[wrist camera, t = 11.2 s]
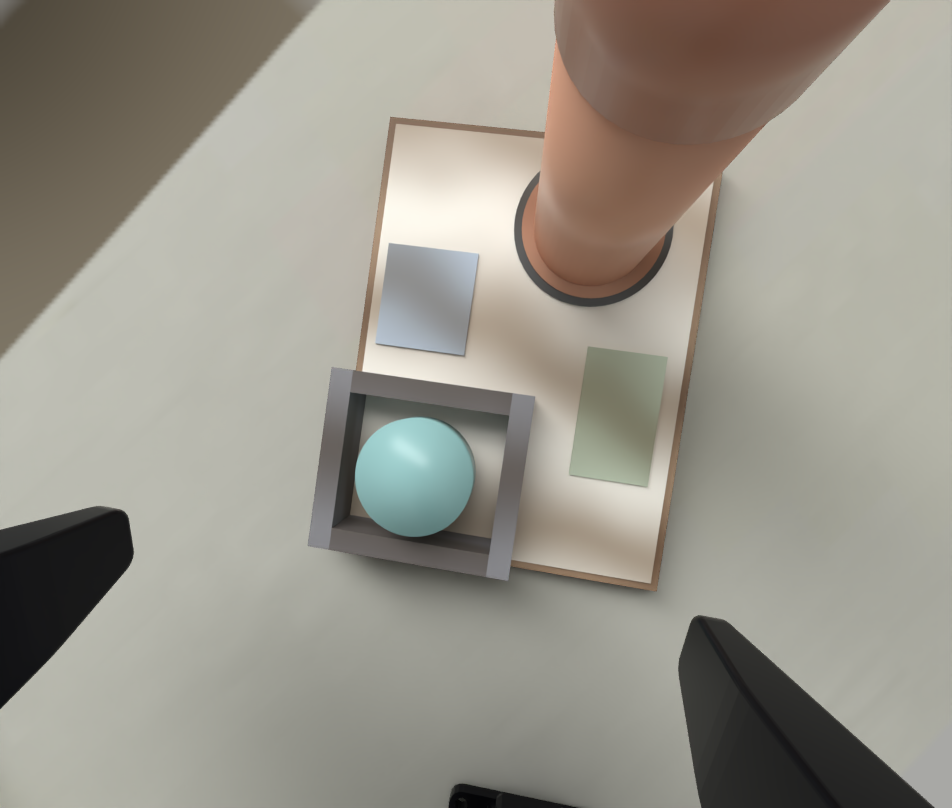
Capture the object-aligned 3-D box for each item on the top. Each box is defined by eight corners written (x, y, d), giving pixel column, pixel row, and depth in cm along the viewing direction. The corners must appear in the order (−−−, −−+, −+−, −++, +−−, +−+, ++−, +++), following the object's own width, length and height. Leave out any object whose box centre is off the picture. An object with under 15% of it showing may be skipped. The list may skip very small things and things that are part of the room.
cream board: (648, 581, 19) (674, 615, 16) (337, 528, 20) (307, 551, 17) (714, 163, 18) (753, 118, 15) (391, 130, 20) (370, 83, 17)
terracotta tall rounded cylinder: (644, 295, 17) (1017, 0, 5) (523, 280, 18) (548, -34, 5) (663, 174, 17) (1100, -485, 4) (540, 161, 18) (614, -484, 5)
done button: (467, 532, 17) (463, 546, 16) (362, 515, 17) (347, 526, 16) (483, 424, 17) (480, 427, 15) (376, 409, 17) (363, 410, 16)
